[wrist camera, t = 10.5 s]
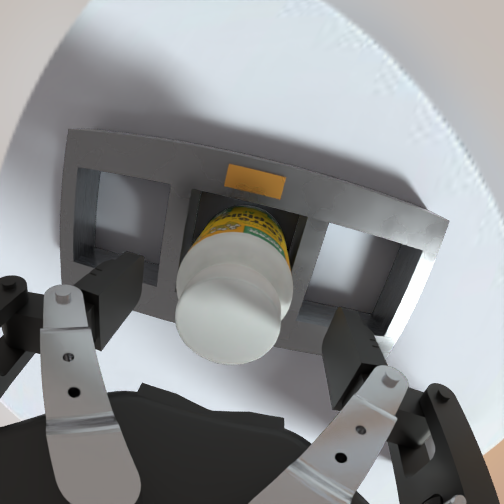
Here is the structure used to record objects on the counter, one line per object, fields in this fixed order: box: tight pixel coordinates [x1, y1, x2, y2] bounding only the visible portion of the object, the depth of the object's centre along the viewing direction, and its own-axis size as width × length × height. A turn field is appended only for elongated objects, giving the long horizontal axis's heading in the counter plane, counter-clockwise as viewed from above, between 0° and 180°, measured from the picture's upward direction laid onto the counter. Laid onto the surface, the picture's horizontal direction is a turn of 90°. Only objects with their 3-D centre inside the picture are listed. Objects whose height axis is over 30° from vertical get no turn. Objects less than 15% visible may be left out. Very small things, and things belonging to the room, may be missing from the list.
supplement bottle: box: [175, 205, 293, 365], centre depth 15 cm, size 5×5×10 cm
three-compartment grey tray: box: [60, 129, 449, 360], centre depth 18 cm, size 24×11×3 cm, turn 77°
